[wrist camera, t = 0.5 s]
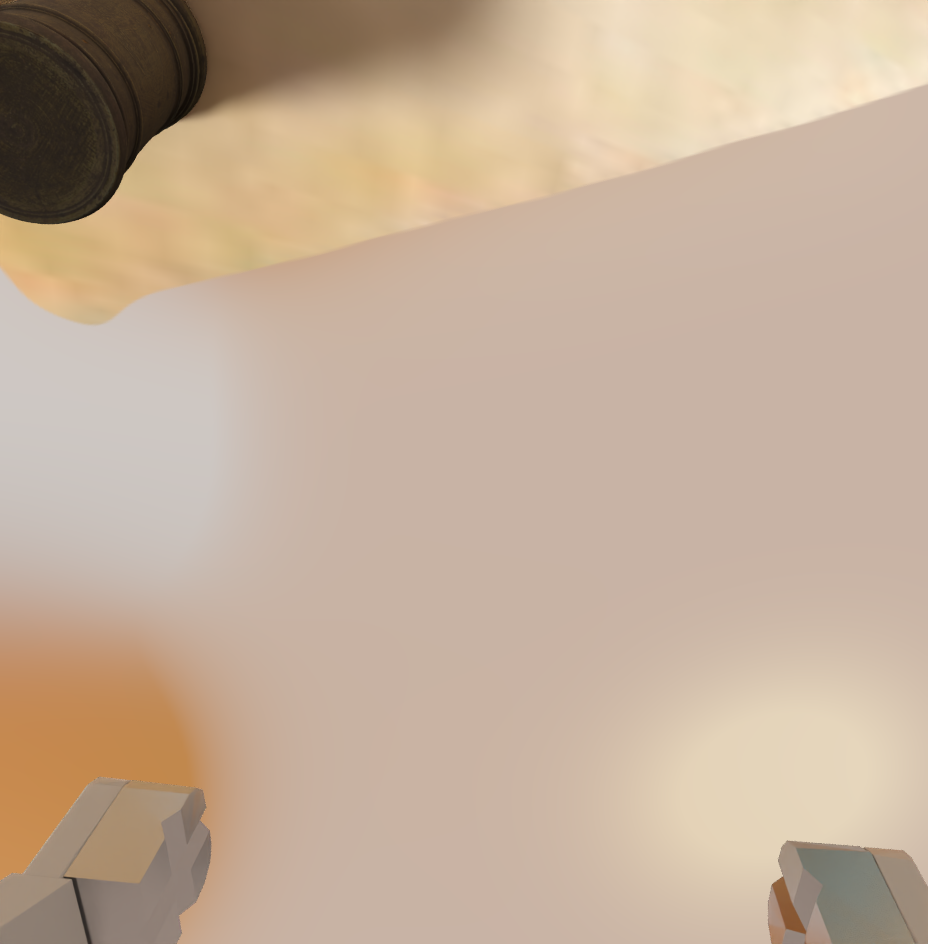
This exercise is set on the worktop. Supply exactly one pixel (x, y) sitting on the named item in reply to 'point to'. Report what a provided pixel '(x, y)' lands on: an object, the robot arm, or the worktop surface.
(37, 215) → the container
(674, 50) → the worktop surface
